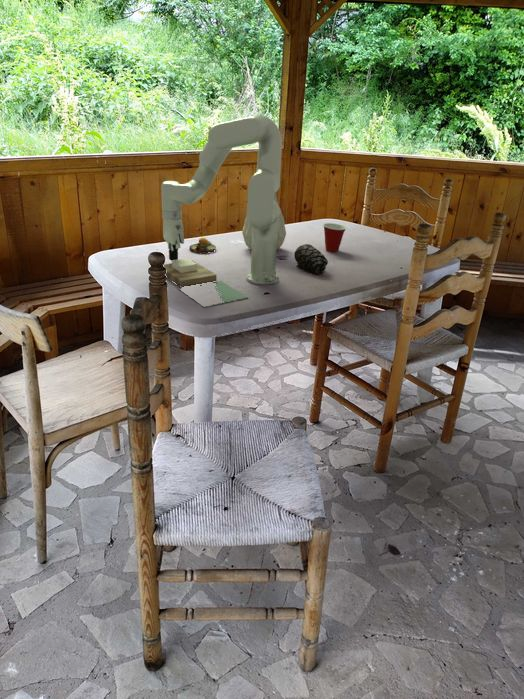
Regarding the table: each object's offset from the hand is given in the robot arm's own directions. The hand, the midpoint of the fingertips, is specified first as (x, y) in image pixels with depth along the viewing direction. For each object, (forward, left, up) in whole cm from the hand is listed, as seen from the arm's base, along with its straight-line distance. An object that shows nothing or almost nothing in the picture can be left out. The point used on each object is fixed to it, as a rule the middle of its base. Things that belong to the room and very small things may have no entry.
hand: (173, 259), depth 223 cm
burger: (+17, -23, -4) cm, 29 cm away
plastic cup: (-11, -76, -4) cm, 77 cm away
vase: (+5, -48, -4) cm, 48 cm away
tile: (-10, 0, -1) cm, 10 cm away
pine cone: (-27, -50, -4) cm, 57 cm away
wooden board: (-12, 0, -4) cm, 12 cm away
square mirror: (-32, 0, -4) cm, 32 cm away
